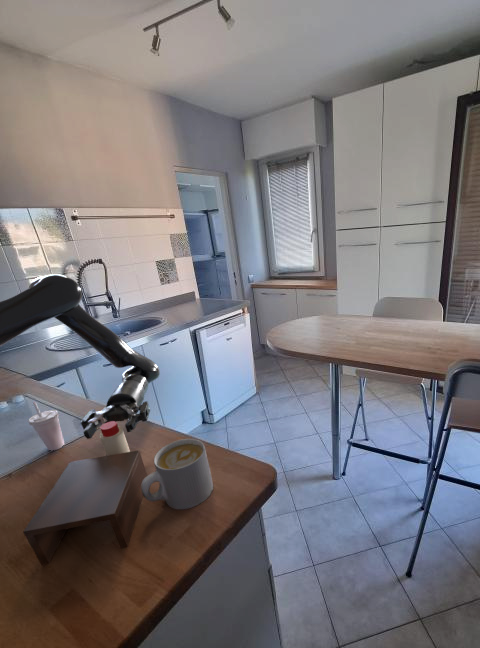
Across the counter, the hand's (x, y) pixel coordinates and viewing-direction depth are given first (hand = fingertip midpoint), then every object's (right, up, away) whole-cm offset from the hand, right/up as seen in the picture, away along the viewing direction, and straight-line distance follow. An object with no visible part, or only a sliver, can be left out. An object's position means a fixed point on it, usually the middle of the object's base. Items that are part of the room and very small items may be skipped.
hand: (107, 432), depth 75 cm
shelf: (+4, -15, -8) cm, 18 cm away
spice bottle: (+1, -10, +6) cm, 11 cm away
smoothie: (-23, -7, +16) cm, 29 cm away
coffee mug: (+18, -13, -4) cm, 22 cm away
